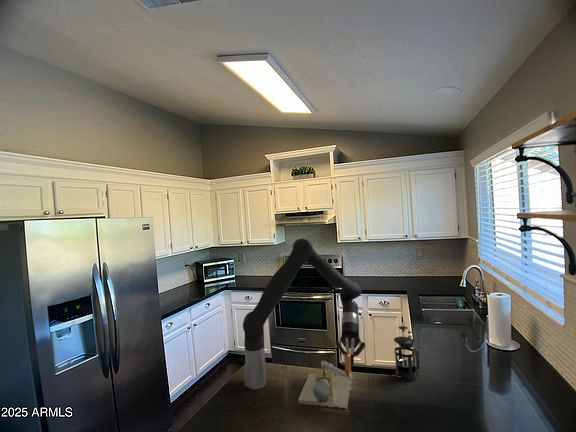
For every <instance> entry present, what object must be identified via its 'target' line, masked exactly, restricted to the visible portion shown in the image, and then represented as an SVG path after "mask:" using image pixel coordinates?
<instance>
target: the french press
mask: <svg viewBox="0 0 576 432" xmlns="http://www.w3.org/2000/svg"><path fill="white" fill-rule="evenodd" d="M398 329H399V330H401V331H402V336H396V337H394V338H393V341H394V342H395V343H396V344H397V345H398V347H395V348H394V355H395V356H394V358H395V359H394V360H395V377H396V376H401V377H396V378H397V379H398V380H400V381H403V382H415V381H417V378H418V376H417V370H419V369H420V360H419V359H420V358H419V350H418V349H417V348H413V347H414V343H415V340H414V339H413V338H412V337H409V336H405V330H408V329H409V328H408V326H405V325H401V326H398ZM397 351H398V352H397ZM406 351H411V354H410V353H409V354H406ZM403 353H404V354H403Z"/></svg>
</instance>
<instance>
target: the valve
mask: <svg viewBox="0 0 576 432" xmlns="http://www.w3.org/2000/svg"><path fill="white" fill-rule="evenodd" d="M327 363H328V364H331V365H333V366H335V365H334V364H333V363H330V362H327ZM304 382H305V383H304V384H303V387H302V389H301V392H300V394H299V396H298V399H297V404H301V405H310V406H317V405H320V406H319V407H325V406H328V408H334V407H338V408H337V409H342V408H345V409H344V410H348V406H349V405H348V404H349V400H350V393H349V391H350V392H351V387H350V385H351V386H352V381H351V379H348V378H346V377H344V376H342V375H336V372H334V371H332V370H330V369H328V368H326V367H320V368H317V372H316V373H308V376H307V378H306V381H304ZM348 399H349V400H348ZM347 405H348V406H347Z"/></svg>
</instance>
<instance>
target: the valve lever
mask: <svg viewBox="0 0 576 432" xmlns="http://www.w3.org/2000/svg"><path fill="white" fill-rule="evenodd" d="M350 354H351V353H350ZM350 354H349V353H345V354H344V355H343V356H344V370H343V369H341V368H339V367H337V366H335V365H334V364H333V365H334V366H333V365H331V364H332V363H331V364H328V363H329V362H328V361H327V360H321V361H320V366H321V367H326V368H328V369H330V370H332V371H334V372H336V373H337V374H338V375H339V376H344V377H346V378H348V379H353V378H354V375H353V374H352V367H351V358H350ZM321 367H320V368H321Z"/></svg>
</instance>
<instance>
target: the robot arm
mask: <svg viewBox="0 0 576 432" xmlns="http://www.w3.org/2000/svg"><path fill="white" fill-rule="evenodd" d="M292 244H293V245H292V250H291V252H290V254H289V255H288V257H287V259H286V261H285V262H284V263H283V264H282V265H281V266H280V267H279V268H278V270H276V272H274V274H273V276H272V277H271V278H270V280H269V282H268V283H267V284H266V286H265V288H264V289H263V292H262V294H261V296H260V299H259V301H258V302H257V304H256V306H255V307H254V309H253V310H252V311H249V312H247V314H246V315H245V316H244V318H243V322H242V329H243V332H244V358H245V359H244V360H245V361H244V362H245V365H243V373H244V374H243V377H244V387H245V388H248V389H250V390H260V389H262V388H265V386H266V385H267V370H266V369H267V367H266V353H265V330H264V327H265V324H266V322H267V321H268V318H269V316H270V315H271V313H272V312H273V311H274V309H275V308H276V307H277V305H278V304H279V302H280V301H281V300H282V298H283V297H284V295H286V293H287V291H288V289H289V288H290V286H291V284H292V283H293V281H294V280H295V278H296V277H297V274H298V272H299V270H300V269H301V268H302V266H304V264H305V263H306V262H307V263H308V264H309V265H310V266H311V267H313V268H314V270H316V271H317V272H318V273H319V274H320V275H321V277H322V278H323V279H325V280H326V281H327V282H328V283H329V284H330V285H331V286H332V287H333V288H335V289H338V288H340V292H339V298H340V301H341V306H342V317H341V335H340V337H339V340H336V341H335V346H336V347H337V349H338V350H339V351H340V353H341V354H342V356H344V354H345V353H349V354H350V358H351V368H352V367H353V366H354V364H355V362H354V361H355V357H358V356H359V355H360V354H361V353H362V351H363V350H364V349H365V347H366V343H365V342H364V341H362V340H361V337H360V320H359V319H360V318H359V305H358V304H357V302H356V301H353V300H355V299H357V298H359V297H360V296H361V295H362V288H361V287H360V285H359V284H358V283H357V282H355V281H354V280H352V279H350V278H348V277H346V276H345V275H343V274H342V273H341V272H340V271H339V270H338V269H336V268H335V267H334V266H333V265H332V264H330V263H329V262H328V261H327V260H325V258H323V257H322V256H321V255H320V254H318V252H317V251H316V250H315V249H314V247H313V244H312V242H311V241H309V240H308V239H306V238H297V239H296V240H295V241H294V242H293V243H292ZM342 345H343V347H344V348H345V349H344V348H343V347H342Z"/></svg>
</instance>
